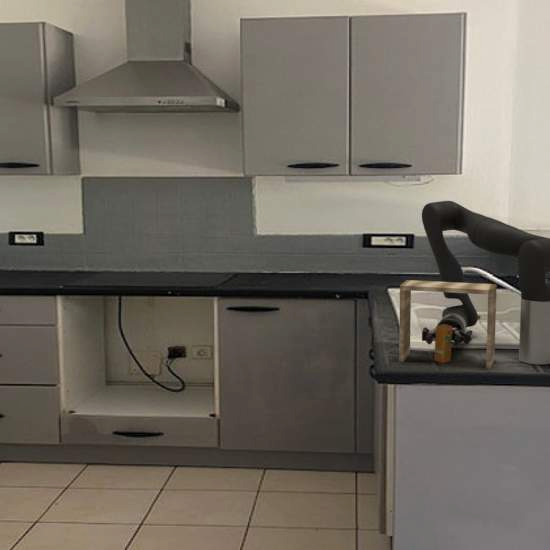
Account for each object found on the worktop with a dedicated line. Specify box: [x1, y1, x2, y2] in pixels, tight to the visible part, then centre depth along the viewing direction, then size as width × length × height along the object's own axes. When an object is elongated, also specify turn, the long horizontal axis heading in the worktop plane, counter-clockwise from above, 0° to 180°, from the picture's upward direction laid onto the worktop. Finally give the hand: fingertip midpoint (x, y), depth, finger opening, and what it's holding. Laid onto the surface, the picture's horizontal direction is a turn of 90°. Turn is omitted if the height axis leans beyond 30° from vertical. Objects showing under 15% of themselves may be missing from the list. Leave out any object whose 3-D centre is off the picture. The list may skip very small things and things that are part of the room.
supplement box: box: [434, 324, 452, 364], centre depth 227 cm, size 3×4×10 cm
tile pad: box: [410, 342, 435, 353], centre depth 244 cm, size 11×11×1 cm
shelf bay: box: [398, 279, 498, 370], centre depth 225 cm, size 24×9×21 cm, turn 70°
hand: (442, 341), depth 224 cm, fingers open, 6 cm apart
